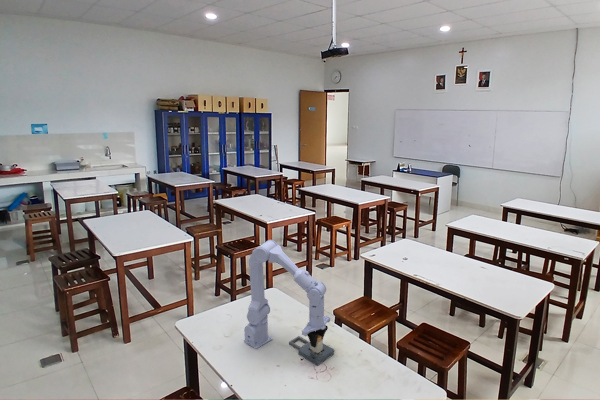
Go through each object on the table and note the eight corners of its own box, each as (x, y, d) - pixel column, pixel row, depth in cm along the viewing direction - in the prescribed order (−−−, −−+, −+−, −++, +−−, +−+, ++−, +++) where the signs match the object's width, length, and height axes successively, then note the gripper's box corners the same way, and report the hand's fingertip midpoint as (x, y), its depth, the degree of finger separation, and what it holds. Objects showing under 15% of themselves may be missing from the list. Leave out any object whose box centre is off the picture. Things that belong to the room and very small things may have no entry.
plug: (317, 353, 150) (317, 339, 148) (310, 349, 152) (310, 335, 151) (322, 349, 152) (322, 336, 150) (315, 345, 154) (315, 332, 153)
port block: (317, 365, 145) (317, 361, 145) (298, 354, 152) (298, 349, 152) (333, 353, 153) (334, 349, 152) (315, 343, 159) (315, 339, 159)
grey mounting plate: (300, 351, 154) (300, 348, 154) (289, 344, 159) (289, 341, 158) (310, 345, 158) (310, 342, 158) (298, 338, 163) (298, 335, 162)
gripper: (311, 324, 140) (311, 357, 144) (336, 309, 151) (335, 340, 154) (297, 317, 145) (298, 349, 148) (322, 303, 155) (322, 333, 158)
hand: (316, 344), depth 151 cm, fingers closed on plug, 3 cm apart
